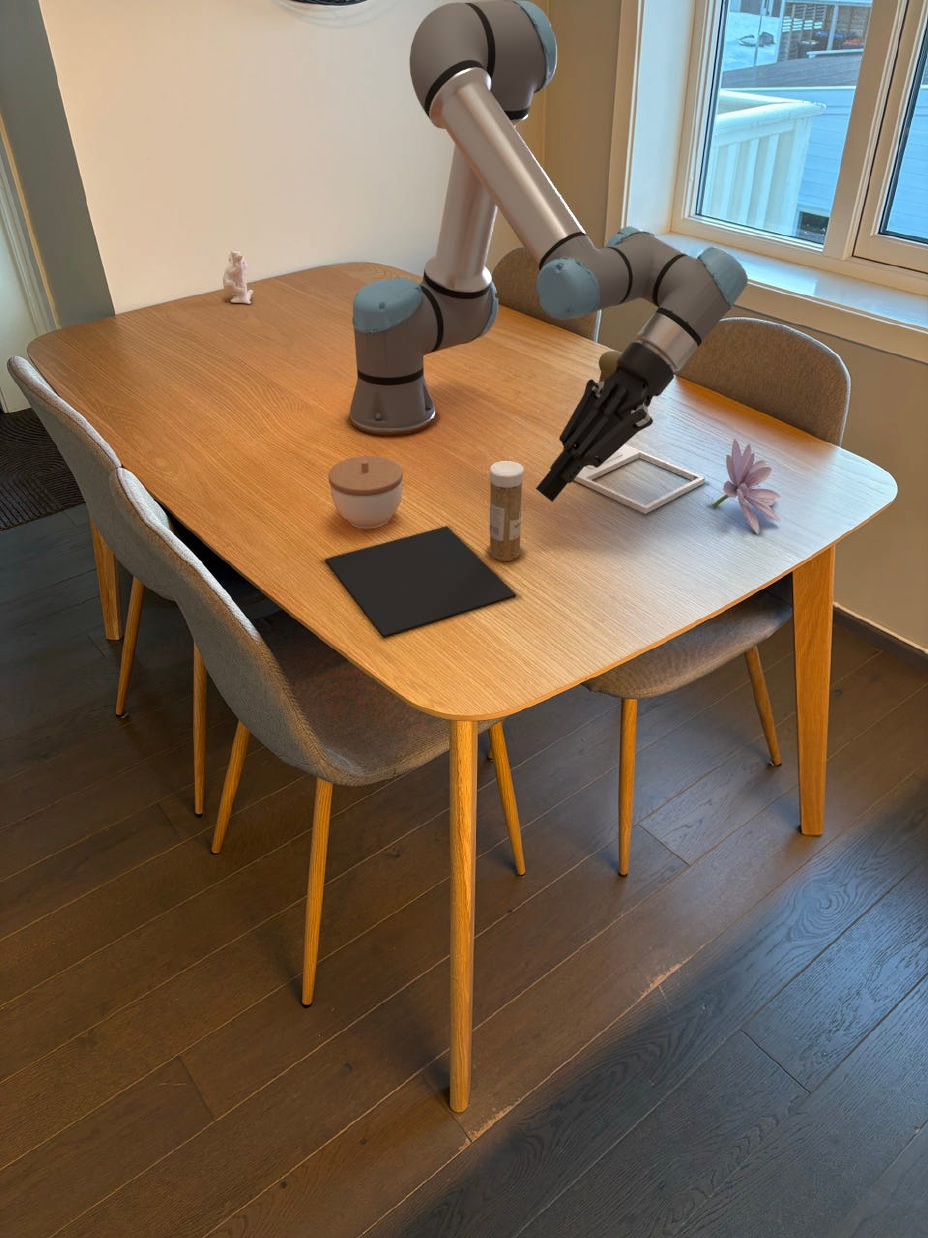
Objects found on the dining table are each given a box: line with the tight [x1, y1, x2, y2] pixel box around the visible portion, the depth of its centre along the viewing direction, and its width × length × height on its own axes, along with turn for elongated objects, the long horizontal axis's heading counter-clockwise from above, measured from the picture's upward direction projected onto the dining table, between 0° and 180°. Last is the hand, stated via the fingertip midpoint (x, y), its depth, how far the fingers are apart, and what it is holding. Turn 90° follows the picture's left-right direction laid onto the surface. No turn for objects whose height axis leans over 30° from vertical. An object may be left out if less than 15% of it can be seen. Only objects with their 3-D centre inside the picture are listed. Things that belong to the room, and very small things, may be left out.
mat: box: [324, 525, 517, 639], centre depth 126 cm, size 20×19×1 cm
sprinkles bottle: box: [488, 460, 525, 562], centre depth 127 cm, size 5×5×13 cm
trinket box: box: [327, 455, 404, 530], centre depth 137 cm, size 11×11×9 cm
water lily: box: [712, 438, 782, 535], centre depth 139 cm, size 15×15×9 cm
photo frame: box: [573, 443, 706, 515], centre depth 149 cm, size 15×1×18 cm
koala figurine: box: [222, 250, 254, 305], centre depth 220 cm, size 8×7×12 cm
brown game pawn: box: [598, 350, 623, 382], centre depth 167 cm, size 6×6×11 cm
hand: (544, 495), depth 129 cm, fingers closed
